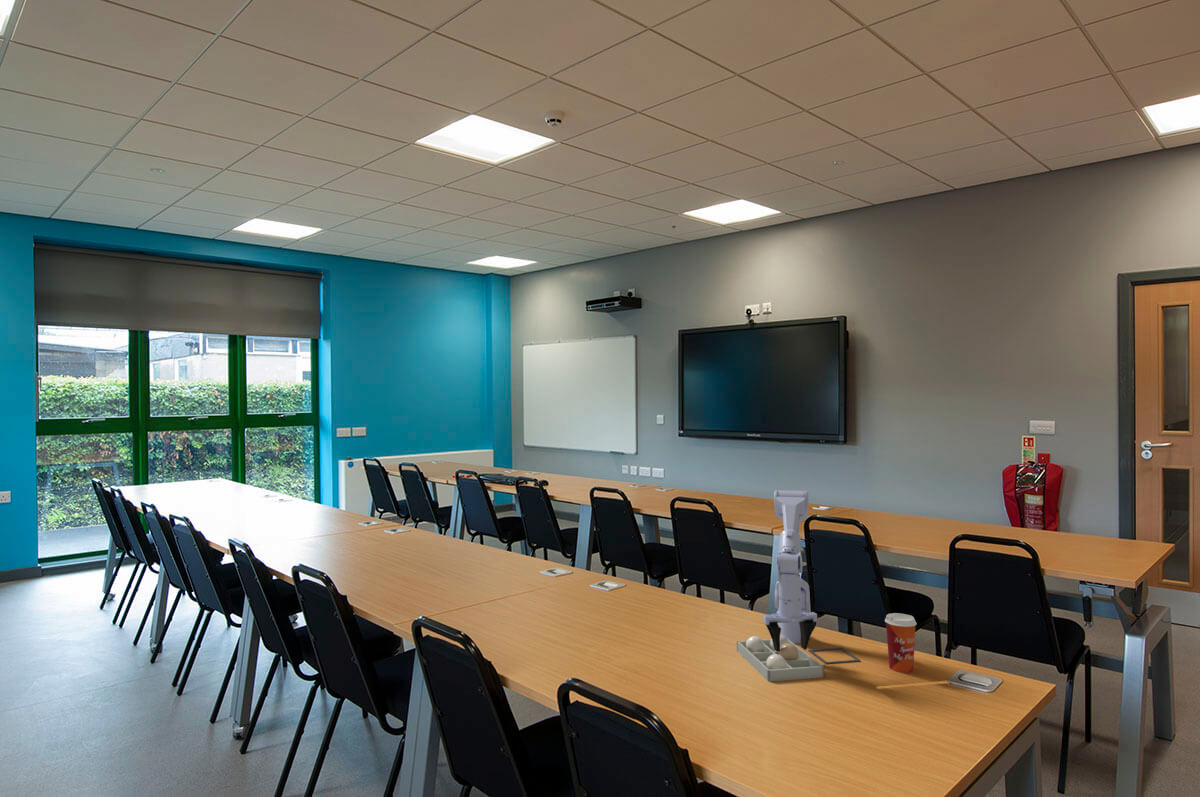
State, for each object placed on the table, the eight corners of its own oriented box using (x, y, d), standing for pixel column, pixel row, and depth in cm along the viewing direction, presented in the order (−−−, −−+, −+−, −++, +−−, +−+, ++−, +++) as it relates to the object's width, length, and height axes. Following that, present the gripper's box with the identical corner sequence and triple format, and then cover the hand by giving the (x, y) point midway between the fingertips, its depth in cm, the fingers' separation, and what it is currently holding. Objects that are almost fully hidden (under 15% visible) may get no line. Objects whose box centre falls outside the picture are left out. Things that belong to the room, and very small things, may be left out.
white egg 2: (767, 650, 195) (767, 632, 195) (784, 649, 196) (784, 631, 196) (774, 656, 190) (774, 638, 190) (792, 655, 191) (791, 637, 191)
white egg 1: (743, 652, 194) (743, 634, 194) (760, 650, 195) (760, 632, 195) (749, 658, 189) (749, 640, 189) (767, 657, 190) (767, 638, 190)
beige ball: (778, 661, 188) (774, 643, 188) (795, 655, 189) (791, 638, 189) (786, 668, 183) (781, 650, 183) (803, 662, 184) (799, 644, 184)
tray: (736, 653, 195) (736, 641, 195) (786, 650, 198) (786, 637, 198) (768, 684, 173) (768, 670, 173) (823, 680, 176) (823, 666, 176)
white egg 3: (763, 671, 180) (762, 651, 180) (781, 669, 181) (781, 650, 181) (771, 678, 175) (770, 658, 175) (789, 677, 176) (789, 657, 176)
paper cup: (898, 678, 177) (897, 622, 177) (878, 667, 184) (878, 613, 184) (924, 674, 179) (923, 619, 179) (904, 663, 186) (903, 611, 186)
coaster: (808, 653, 194) (808, 649, 194) (841, 651, 196) (841, 647, 196) (825, 667, 184) (825, 662, 184) (860, 664, 186) (860, 660, 186)
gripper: (770, 604, 181) (770, 656, 181) (822, 600, 183) (823, 652, 183) (759, 596, 188) (760, 647, 188) (810, 593, 190) (810, 643, 190)
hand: (790, 649), depth 186 cm, fingers open, 7 cm apart
